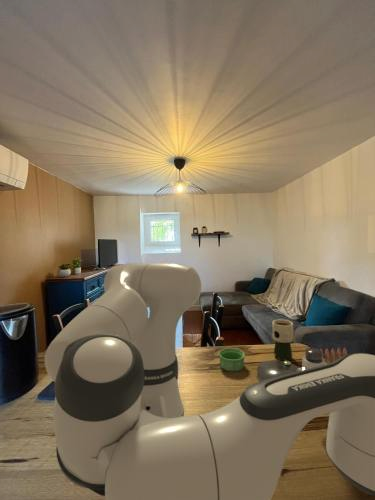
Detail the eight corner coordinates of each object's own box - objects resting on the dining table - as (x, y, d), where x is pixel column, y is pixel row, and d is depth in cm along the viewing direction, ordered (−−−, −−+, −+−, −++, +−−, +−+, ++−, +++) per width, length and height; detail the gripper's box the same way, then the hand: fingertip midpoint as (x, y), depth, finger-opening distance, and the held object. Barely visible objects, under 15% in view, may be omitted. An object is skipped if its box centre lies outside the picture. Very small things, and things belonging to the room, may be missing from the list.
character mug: (268, 350, 99) (267, 317, 98) (286, 350, 99) (286, 317, 98) (279, 365, 88) (278, 328, 87) (299, 364, 88) (299, 327, 87)
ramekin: (244, 374, 83) (244, 361, 83) (216, 371, 86) (216, 358, 86) (245, 361, 92) (245, 349, 92) (220, 358, 94) (220, 346, 94)
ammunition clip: (345, 385, 76) (346, 346, 75) (349, 389, 74) (350, 348, 73) (310, 387, 75) (310, 347, 75) (313, 391, 73) (313, 350, 73)
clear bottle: (312, 404, 58) (312, 357, 58) (297, 391, 63) (297, 348, 62) (330, 400, 59) (330, 354, 59) (315, 388, 64) (315, 345, 64)
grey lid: (272, 403, 69) (272, 385, 68) (249, 377, 81) (249, 361, 81) (314, 395, 72) (314, 377, 71) (286, 371, 84) (286, 356, 84)
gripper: (315, 432, 46) (272, 388, 60) (403, 411, 51) (345, 374, 64) (315, 399, 46) (272, 361, 59) (404, 380, 50) (345, 350, 64)
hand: (311, 368), depth 62 cm, fingers closed on clear bottle, 5 cm apart
